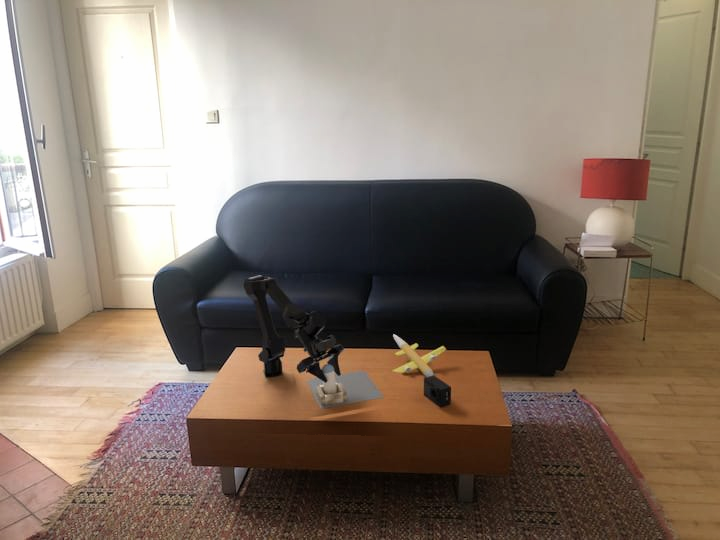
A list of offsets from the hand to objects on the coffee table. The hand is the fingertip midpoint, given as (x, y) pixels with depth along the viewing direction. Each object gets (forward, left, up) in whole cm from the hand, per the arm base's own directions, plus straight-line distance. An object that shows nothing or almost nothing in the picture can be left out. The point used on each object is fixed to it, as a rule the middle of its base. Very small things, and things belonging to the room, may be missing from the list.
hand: (333, 378), depth 187 cm
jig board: (+5, +6, -9) cm, 12 cm away
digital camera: (+33, -12, -9) cm, 37 cm away
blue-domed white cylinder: (-1, +1, -7) cm, 7 cm away
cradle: (-1, +1, -9) cm, 9 cm away
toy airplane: (+37, +16, -9) cm, 41 cm away
